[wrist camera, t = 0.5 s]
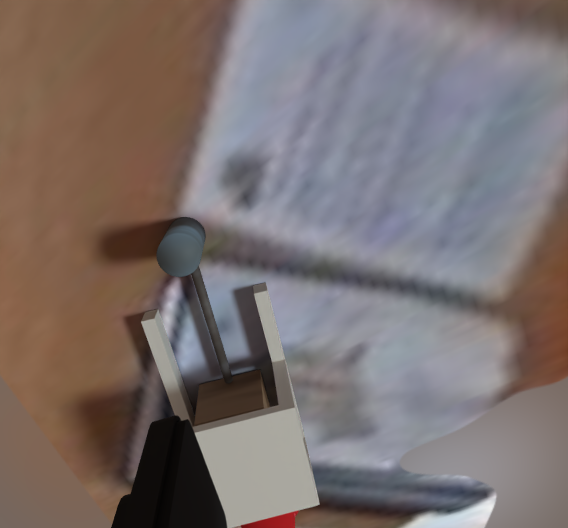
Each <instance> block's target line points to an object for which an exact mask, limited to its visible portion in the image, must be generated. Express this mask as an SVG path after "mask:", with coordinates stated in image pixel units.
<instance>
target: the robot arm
mask: <svg viewBox="0 0 568 528" xmlns="http://www.w3.org/2000/svg"><path fill="white" fill-rule="evenodd" d="M111 528H227V521H226V516H225V513H224V510H223V507H222V504H221V502H220V499H219V497H218V494H217V491H216V489H215V486H214V483H213V481H212V478H211V475H210V473H209V470H208V467H207V465H206V462H205V459H204V457H203V454H202V451H201V449H200V446H199V443H198V441H197V438H196V436H195V433H194V430H193V428H192V425H191V423H190V421H189V420H188V419H186V420H183V421H181V419H180V417H179V416H177V415H176V416H172V417H168V418H165V419H161V420H158V421H154V422H152V423H151V425H150V427H149V431H148V434H147V438H146V442H145V445H144V449H143V452H142V456H141V459H140V463H139V466H138V470H137V474H136V477H135V481H134V484H133V488H132V491H131V494H128V495H125V496H123V497H122V498H121V500H120V502H119V504H118V507H117V510H116V514H115V517H114V520H113V524H112V527H111Z"/></svg>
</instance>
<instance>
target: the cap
mask: <svg viewBox="0 0 568 528" xmlns="http://www.w3.org/2000/svg"><path fill="white" fill-rule="evenodd" d="M298 511H299V510H298ZM298 511H294V512H290V513H286V514H282V515H279V516H275V517H271V518H267V519H263V520H259V521H256V522H252V523H248V524H244V525H241V527H242V528H295V516H296V515H297V514H298Z"/></svg>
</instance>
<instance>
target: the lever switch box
mask: <svg viewBox="0 0 568 528" xmlns="http://www.w3.org/2000/svg"><path fill="white" fill-rule="evenodd" d="M253 291H254V296H255V300H256V304H257V308H258V311H259V315H260V319H261V323H262V326H263V330H264V334H265V338H266V341H267V345H268V349H269V353H270V357H271V360H272V365H273V372H274V378H275V385H276V391H277V398H278V404H279V405H277V406H273V407H269V408H265V409H261V410H257V411H253V412H249V413H246V414H242V415H238V416H234V417H230V418H226V419H222V420H218V421H214V422H210V423H206V424H202V425H198V426H195V425H194V423H195V414H194V412H193V409H192V406H191V403H190V400H189V397H188V394H187V391H186V388H185V385H184V383H183V380H182V377H181V374H180V371H179V368H178V365H177V362H176V359H175V356H174V354H173V351H172V348H171V345H170V342H169V339H168V336H167V333H166V330H165V328H164V325H163V322H162V319H161V316H160V313H159V310H158V309H156V310H152V311H148V312H145V314H144V316H143V318H142V321H141V323H142V326H143V329H144V332H145V334H146V337H147V340H148V343H149V345H150V348H151V351H152V354H153V356H154V359H155V362H156V365H157V367H158V370H159V373H160V376H161V378H162V381H163V384H164V387H165V390H166V392H167V395H168V398H169V401H170V403H171V406H172V409H173V412H174V414H175V416H176V415H177V416H179V417H180V419H181V421H183V420H186V419H188V420H189V421H190V423H191V425H192V428H193V430H194V433H195V436H196V438H197V441H198V443H199V446H200V449H201V451H202V454H203V457H204V459H205V462H206V465H207V467H208V470H209V473H210V475H211V478H212V481H213V483H214V486H215V489H216V491H217V494H218V497H219V499H220V502H221V504H222V507H223V510H224V513H225V516H226V521H227V528H233V527H236V526H240V525H244V524H248V523H252V522H256V521H259V520H263V519H267V518H271V517H275V516H279V515H282V514H286V513H290V512H294V511H298V510H302V509H305V508H309V507H313V506H317V505H320V504H319V499H318V495H317V490H316V485H315V481H314V476H313V472H312V467H311V463H310V458H309V454H308V449H307V444H306V440H305V435H304V431H303V427H302V423H301V419H300V415H299V411H298V407H297V404H296V400H295V396H294V392H293V388H292V384H291V380H290V376H289V372H288V368H287V364H286V360H285V356H284V352H283V348H282V344H281V340H280V336H279V333H278V329H277V325H276V321H275V317H274V313H273V309H272V305H271V301H270V297H269V293H268V289H267V285H266V283H262V284H258V285H254V286H253Z"/></svg>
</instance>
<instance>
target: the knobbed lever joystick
mask: <svg viewBox="0 0 568 528" xmlns="http://www.w3.org/2000/svg"><path fill="white" fill-rule="evenodd" d="M204 242H205V230H204V228H203V226H202V225H201V224H200V223H199V222H198V221H197V220H195V219H193V218H189V217H183V218H179V219H177V220H175V221H174V222H173V223H172V224H171V225H170V227H169V228H168V230H167V232H166V234H165V236H164V238H163V239H162V241H161V243H160V245H159V247H158V249H157V261H158V264H159V266H160V267H161V268H162V269H163V270H164V271H165V272H166V273H168V274H170V275H172V276H176V277H183V276H187V275H189V274H191V275H192V278H193V281H194V285H195V288H196V291H197V294H198V297H199V301H200V304H201V307H202V310H203V314H204V317H205V320H206V323H207V326H208V330H209V333H210V336H211V339H212V343H213V346H214V349H215V352H216V356H217V359H218V362H219V365H220V368H221V372H222V375H223V378H224V379H220V380H216V381H212V382H208V383H204V384H200V385H199V391H198V399H197V407H196V415H195V423H194V425H195V426H198V425H202V424H206V423H210V422H214V421H218V420H222V419H226V418H230V417H234V416H238V415H242V414H246V413H249V412H253V411H257V410H261V409H265V408H269V407H270V404H269V400H268V397H267V393H266V389H265V386H264V382H263V379H262V375H261V371H260V369H259V370H255V371H251V372H247V373H243V374H239V375H235V376H232V375H231V371H230V368H229V365H228V361H227V358H226V355H225V351H224V348H223V345H222V341H221V338H220V335H219V332H218V328H217V325H216V322H215V318H214V315H213V312H212V308H211V305H210V302H209V298H208V295H207V292H206V289H205V285H204V282H203V279H202V275H201V272H200V269H199V264H200V260H201V256H202V251H203V246H204Z"/></svg>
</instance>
